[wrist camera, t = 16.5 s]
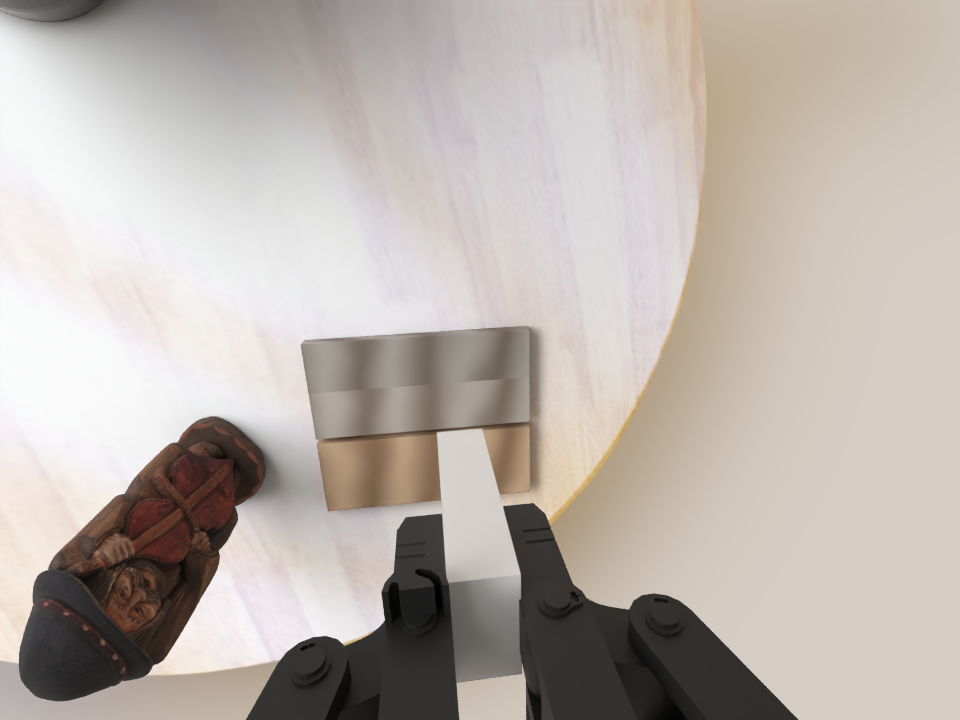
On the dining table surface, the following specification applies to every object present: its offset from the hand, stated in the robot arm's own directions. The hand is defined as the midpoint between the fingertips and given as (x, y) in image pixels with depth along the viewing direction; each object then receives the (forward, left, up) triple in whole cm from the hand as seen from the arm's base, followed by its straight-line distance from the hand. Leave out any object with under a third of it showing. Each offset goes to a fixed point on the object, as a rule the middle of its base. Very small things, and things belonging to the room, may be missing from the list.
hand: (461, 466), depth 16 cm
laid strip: (-2, -9, -32) cm, 34 cm away
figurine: (-23, -16, -33) cm, 43 cm away
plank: (-2, -19, -32) cm, 37 cm away
